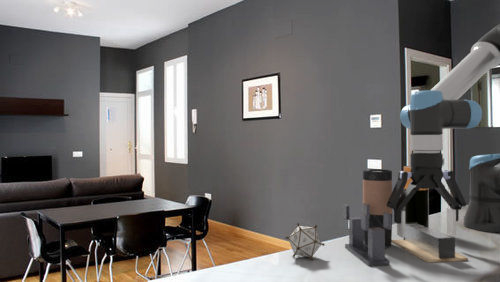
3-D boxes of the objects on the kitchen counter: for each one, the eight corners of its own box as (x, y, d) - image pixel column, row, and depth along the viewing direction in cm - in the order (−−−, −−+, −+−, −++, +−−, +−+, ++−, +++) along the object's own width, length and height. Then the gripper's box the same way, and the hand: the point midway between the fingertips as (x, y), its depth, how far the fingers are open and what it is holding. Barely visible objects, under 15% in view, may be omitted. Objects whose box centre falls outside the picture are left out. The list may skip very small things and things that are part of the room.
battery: (399, 229, 125) (399, 165, 125) (411, 226, 130) (410, 164, 129) (421, 234, 119) (421, 166, 119) (433, 230, 124) (432, 165, 124)
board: (425, 240, 112) (425, 238, 112) (467, 260, 94) (467, 257, 94) (391, 242, 111) (391, 239, 111) (427, 262, 93) (427, 259, 93)
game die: (312, 271, 99) (336, 238, 98) (299, 268, 92) (325, 233, 92) (286, 247, 104) (310, 216, 104) (272, 243, 97) (297, 210, 97)
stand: (342, 247, 106) (342, 204, 105) (365, 246, 106) (365, 203, 106) (366, 266, 91) (365, 215, 91) (392, 264, 91) (392, 214, 91)
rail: (403, 239, 111) (403, 222, 111) (416, 239, 111) (416, 222, 111) (439, 258, 94) (439, 238, 94) (454, 257, 94) (454, 237, 94)
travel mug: (394, 248, 104) (394, 171, 104) (363, 247, 106) (363, 171, 106) (390, 241, 112) (390, 169, 112) (361, 239, 113) (361, 169, 113)
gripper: (462, 150, 107) (462, 229, 108) (373, 151, 104) (373, 233, 105) (481, 151, 100) (481, 236, 100) (386, 153, 97) (386, 240, 97)
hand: (426, 235), depth 103 cm, fingers open, 13 cm apart
